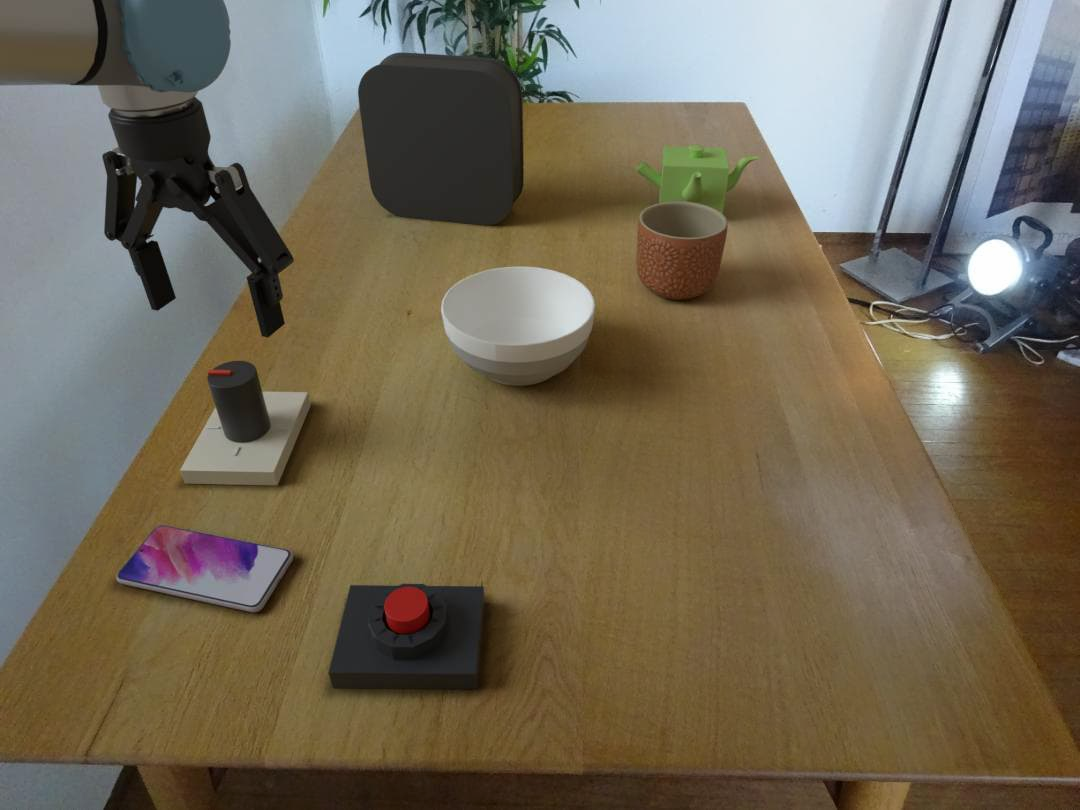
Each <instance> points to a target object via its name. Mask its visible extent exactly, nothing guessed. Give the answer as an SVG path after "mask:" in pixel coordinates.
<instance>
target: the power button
mask: <svg viewBox="0 0 1080 810" xmlns="http://www.w3.org/2000/svg"><path fill="white" fill-rule="evenodd" d="M384 609H385V615H386V620H387V624H388V626H389V627H390V629H392V630H393V631H394V632H396V633H399V634H412V633H415V632H417V631H419V630H421V629H422V628H423V627H424V626H425V625H426V624H427V622H428V620H429V616H430V613H429V605H428V599H427V596H426V594H425V593H424V592H423V591H422V590H420V589H418V588H415V587H402V588H399V589H397V590H395V591H393V592H392V593H391V594H390V595H389V596H388V597H387V599H386V601H385V604H384Z"/></svg>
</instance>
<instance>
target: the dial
mask: <svg viewBox="0 0 1080 810" xmlns="http://www.w3.org/2000/svg"><path fill="white" fill-rule="evenodd" d="M206 381H207V383H208V387H209V390H210V393H211V396H212V399H213V403H214V406H215V407H216V409H217V412H218V415H219V419H220V422H221V425H222V428H223V431H224V435H225V437H226V438H227V439H229V440H230V441H233V442H238V443H244V442H250V441H254V440H256V439H259V438H261V437H262V436H264V435H265V434H266V433H267V432H268V431H269V429H270V425H271V423H270V419H269V415H268V412H267V408H266V404H265V400H264V396H263V393H262V391H263V388H262V385H261V382H260V379H259V374H258V369H257V367H256V366H255V365H254V364H253V363H252V362H249V361H247V360H232V361H231V360H230V361H227V362H223V363H221V364H218V365H217V366H215V367H213V368H212V369H208V371H207V378H206Z"/></svg>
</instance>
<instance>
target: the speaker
mask: <svg viewBox="0 0 1080 810" xmlns="http://www.w3.org/2000/svg"><path fill="white" fill-rule="evenodd" d="M357 97H358V98H357V99H358V106H359V114H360V115H359V116H360V121H361V129H362V136H363V144H364V150H365V151H364V152H365V158H366V166H367V173H368V178H369V179H368V180H369V185H370V189H371V193H372V195H373V197H374V198H375V200H376V201H377V203H378V204H379V205H380V207H382V208H383V209H384V210H385V211H387V212H388V213H390V214H392V215H395V216H396V217H397V216H398V217H401V218H410V219H417V220H428V221H437V222H447V223H457V224H466V225H467V224H468V225H477V226H492V225H496V224H499V223H500V222H502V221H504V219H505V218H506V217H507V216H508V215H509V214H510V212H511V211H512V209H513V206H514V204H515V202H516V201H517V200H518V199H519V197H520V196H521V194H522V192H523V189H524V181H525V178H524V177H525V176H524V175H525V173H524V171H525V170H524V169H525V168H524V161H525V160H524V110H523V109H524V106H523V88H522V84H521V82H520V80H519V77H518V76H517V74H516V73H515V71H514V70H513V69H512V68H511V66H509V65H508V64H506V63H505V62H503V61H501V60H500V59H497V58H492V57H484V56H483V57H480V56H469V55H468V56H467V55H454V54H450V55H449V54H437V53H436V54H435V53H420V52H419V53H418V52H394V53H390V54H389V55H387V56H386V57H385V58H384V59H382V60H381V61H380V63H379V64H376V65H374V66H372V67H370V68H369V69H368V70H366V72H365V73H364V74H363V75H362V77H361V78H360V81H359V83H358V88H357Z"/></svg>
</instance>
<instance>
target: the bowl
mask: <svg viewBox="0 0 1080 810" xmlns="http://www.w3.org/2000/svg"><path fill="white" fill-rule="evenodd" d="M440 311H441V312H440V313H441V317H442V323H443V327H444V332H445V334H446V336H447V339H448V341H449V344H450V346H451V348H452V350H453V351H454V353H455V355H456V356H457V357H458V358H459V359H460V360H461V361H462V362H463V363H464V364H465V365H466V366H467V367H469V368H470V369H471V370H472V371H474V372H475V373H476V374H479V375H480V376H483V377H484V378H487V379H489V380H490V381H493V382H495V383H497V384H501V385H505V386H514V387H523V386H531V385H532V386H533V385H535V384H540V383H543V382H544V381H547V380H549V379H551V378H552V377H553V376H556V375H559V374H560V373H561V372H563V371H564V370H567V368H568V367H569V366H571V365H572V363H574V361H575V360H576V359H577V358H578V357H579V356H580V355H581V354H582V353H583V351H584V349H585V348H586V346H587V344H588V341H589V339H590V335H591V332H592V330H593V327H594V326H593V324H594V321H595V312H596V301H595V298H594V296H593V295H592V292H591V290H590V289H589V288H588V287H587V286H586V285H584V283H582V282H581V281H579V280H578V279H576V278H574V277H572V276H570V275H568V274H566V273H563V272H560V271H556V270H553V269H548V268H543V267H537V266H504V267H496V268H491V269H486V270H482V271H479V272H477V273H474V274H471V275H469V276H467V277H465V278H462V279H461V280H459V281H458V282H456V283H455V284H453V285H452V286H451V287H450V288H449V289H448V291H447V292H446V293H445V294H444V297H443V298H442V300H441V305H440Z"/></svg>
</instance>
